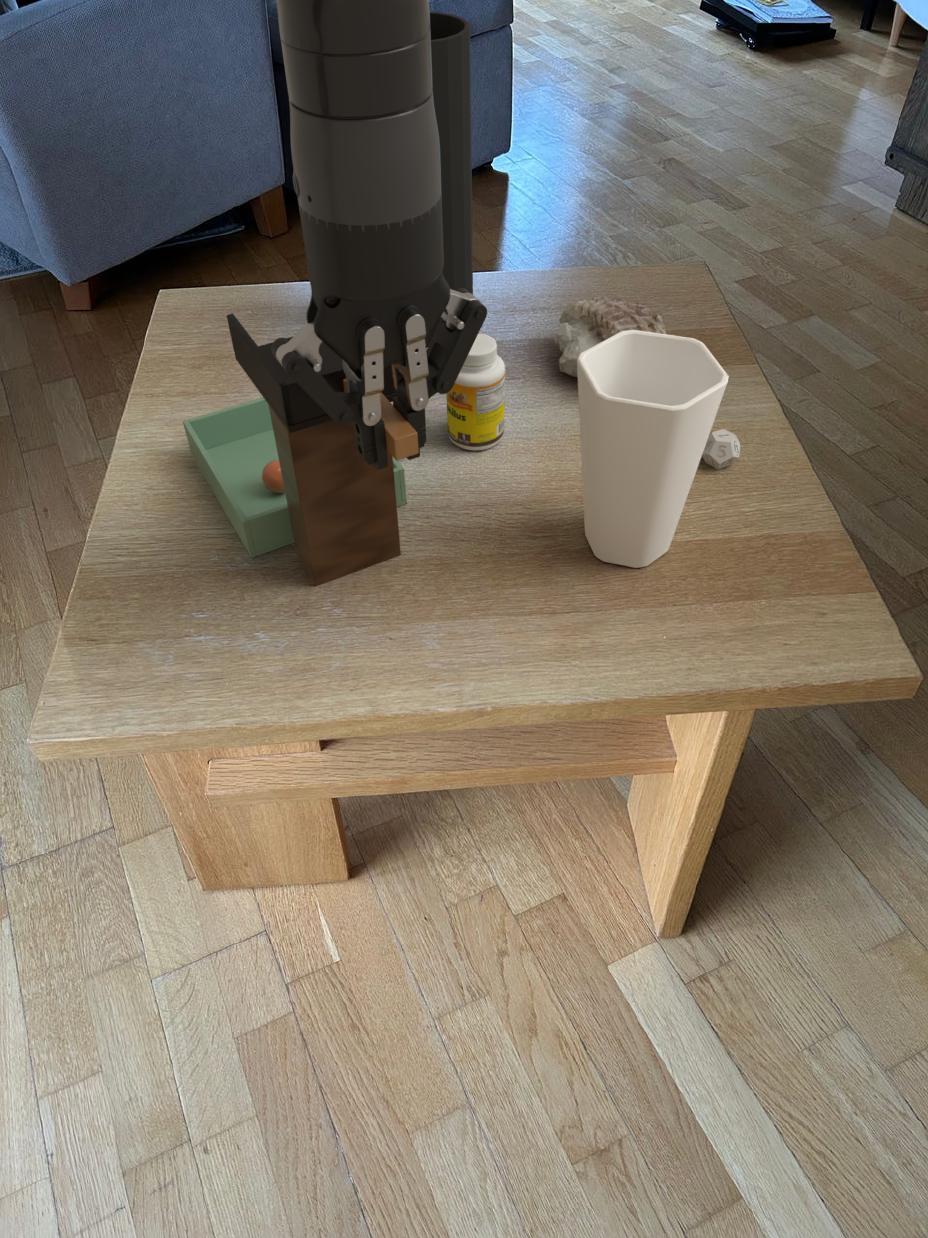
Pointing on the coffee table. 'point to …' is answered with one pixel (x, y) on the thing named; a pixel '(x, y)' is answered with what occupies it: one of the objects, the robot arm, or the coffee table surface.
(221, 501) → the tray
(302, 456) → the block
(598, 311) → the seashell
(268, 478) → the terracotta ball
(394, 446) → the pan
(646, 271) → the coffee table surface
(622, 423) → the cup
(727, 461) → the game die
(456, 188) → the vase
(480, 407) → the supplement bottle
